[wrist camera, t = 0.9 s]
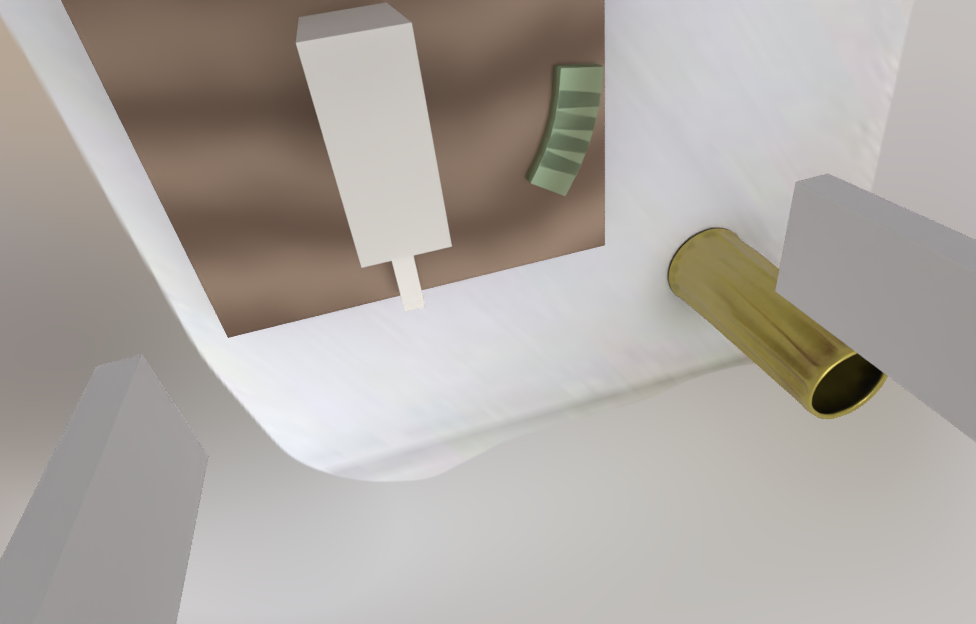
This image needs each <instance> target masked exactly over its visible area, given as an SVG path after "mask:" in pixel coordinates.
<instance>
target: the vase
mask: <svg viewBox="0 0 976 624" xmlns="http://www.w3.org/2000/svg"><path fill="white" fill-rule="evenodd" d="M778 274H779V269H778V268H777V267H776V266H774V265H773V264H772V263H771V262H770V261H769V260H767V259H766V258H765V257H764V256H762V255H761V254H760V253H759V252H757V251H756V250H754V249H753V248H751V247H750V246H749V245H747V244H745V243H744V242H742V241H741V240H740V239H739V237H738V236H737V235H736V234H735V233H733V232H732V231H730V230H726V229H720V228H717V229H710V230H707V231H704V232H701V233H699V234H697V235H696V236H694V237H692V238H691V239H690V240H688V241H687V242H686V243H685V244H684V245H683V246H682V247H681V248H680V250H679V251H678V252H677V254H676V255H675V257H674V259H673V261H672V264H671V267H670V270H669V283H670V287H671V289H672V291H673V293H674V294H675V295H677V296H678V297H680V298H682V299H683V300H684V301H685V302H686V303H688V304H689V305H690V306H691V307H692V308H693V309H694V310H695V311H697V312H698V313H699V314H700V315H701V316H702V317H704V318H705V319H706V320H707V321H708V322H710V323H711V324H712V325H713V326H714V327H715V328H716V329H717V330H718V331H720V332H721V333H722V334H723V335H724V336H725V337H726V338H727V339H729V340H730V341H731V342H732V343H733V344H734V345H735V346H737V347H738V348H739V349H740V350H741V351H742V352H743V353H744V354H746V355H747V356H748V357H749V358H750V359H751V360H752V361H753V362H755V363H756V364H757V365H758V366H759V367H760V368H762V370H764V371H765V372H766V373H767V374H768V375H769V376H770V377H771V378H772V379H774V380H775V381H776V382H777V383H778V384H779V385H780V386H781V387H783V388H784V389H785V390H786V391H787V392H788V393H789V394H791V395H792V396H793V397H794V398H795V399H796V400H797V401H798V402H799V403H800V404H801V405H802V406H803V407H804V408H805V409H806V410H807V411H809V412H810V413H812V414H813V415H815V416H817V417H818V418H821V419H834V418H837V417H841V416H843V415H846V414H848V413H851V412H853V411H855V410H856V409H858V408H859V407H861V406H862V405H863V404H865V403H866V402H867V401H869V400H870V399H871V398H872V397H873V396H874V395H875V394H876V393H877V392H878V390H879V389H880V388H881V387H882V385H883V384H884V382H885V381H886V379H887V377H888V376H887V375H886V374H885V373H883V372H882V371H881V370H879V369H878V368H877V367H875V366H874V365H873V364H871V363H870V362H869V361H867V360H866V359H865V358H863V357H862V356H861V355H859V354H858V353H857V352H855V351H854V350H853V349H851V348H850V347H849V346H847V345H846V344H845V343H843V342H842V341H841V340H839V339H838V338H837V337H835V336H834V335H833V334H831V333H830V332H829V331H827V330H826V329H825V328H823V327H822V326H821V325H819V324H818V323H817V322H815V321H814V320H813V319H811V318H810V317H809V316H808V315H806V314H805V313H804V312H802V311H801V310H800V309H798V308H797V307H796V306H794V305H793V304H792V303H790V302H789V301H788V300H786V299H785V298H784V297H782V296H781V295H780V294H778V293H777V292H776V291H775V290H776V284H777V279H778Z"/></svg>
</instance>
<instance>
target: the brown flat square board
mask: <svg viewBox="0 0 976 624" xmlns="http://www.w3.org/2000/svg"><path fill="white" fill-rule="evenodd" d="M61 1H62V3H63V5H64V7H65V9H66V11H67V13H68V15H69V17H70V19H71V21H72V23H73V25H74V27H75V29H76V31H77V33H78V35H79V37H80V39H81V41H82V43H83V45H84V47H85V50H86V52H87V54H88V56H89V58H90V60H91V62H92V64H93V66H94V68H95V70H96V72H97V74H98V76H99V78H100V80H101V82H102V84H103V86H104V88H105V90H106V92H107V94H108V96H109V98H110V100H111V102H112V104H113V106H114V108H115V110H116V112H117V114H118V116H119V118H120V120H121V122H122V124H123V126H124V128H125V130H126V132H127V134H128V136H129V138H130V140H131V143H132V145H133V147H134V149H135V151H136V153H137V155H138V157H139V159H140V161H141V163H142V165H143V167H144V169H145V171H146V173H147V175H148V177H149V179H150V181H151V183H152V185H153V187H154V189H155V191H156V193H157V195H158V197H159V199H160V201H161V203H162V205H163V207H164V209H165V211H166V213H167V215H168V217H169V219H170V221H171V223H172V225H173V227H174V229H175V231H176V233H177V236H178V238H179V240H180V242H181V244H182V246H183V248H184V250H185V252H186V254H187V256H188V258H189V260H190V262H191V264H192V266H193V268H194V270H195V272H196V274H197V276H198V278H199V280H200V282H201V284H202V286H203V288H204V290H205V292H206V294H207V296H208V298H209V300H210V302H211V304H212V306H213V308H214V310H215V312H216V314H217V316H218V318H219V320H220V322H221V324H222V326H223V329H224V331H225V333H226V335H227V337H228V338H229V337H233V336H237V335H241V334H245V333H249V332H253V331H258V330H262V329H266V328H270V327H274V326H278V325H282V324H286V323H290V322H294V321H298V320H302V319H306V318H310V317H315V316H319V315H323V314H327V313H331V312H335V311H339V310H343V309H347V308H351V307H355V306H359V305H363V304H367V303H372V302H376V301H380V300H384V299H388V298H392V297H396V296H400V291H399V287H398V283H397V280H396V276H395V272H394V268H393V264H392V261H389V262H384V263H380V264H376V265H372V266H367V267H363V268H361V264H360V261H359V257H358V254H357V251H356V247H355V244H354V240H353V237H352V233H351V230H350V227H349V223H348V220H347V216H346V213H345V210H344V206H343V203H342V199H341V196H340V192H339V189H338V186H337V182H336V179H335V175H334V172H333V169H332V165H331V162H330V158H329V155H328V151H327V148H326V145H325V141H324V138H323V134H322V131H321V128H320V124H319V121H318V117H317V114H316V111H315V107H314V104H313V100H312V97H311V93H310V90H309V87H308V83H307V80H306V76H305V73H304V70H303V66H302V63H301V59H300V56H299V52H298V49H297V46H296V36H297V28H298V20H299V17H303V16H309V15H315V14H320V13H326V12H332V11H338V10H344V9H350V8H356V7H362V6H368V5H374V4H380V3H386V2H387V3H388V4H389V5H390V6H392V7H393V8H394V9H395V10H397V11H398V12H399V13H400V14H402V15H403V16H404V17H405V18H407V19H408V20H409V21H410V22H412V27H413V33H414V38H415V44H416V49H417V55H418V60H419V66H420V72H421V77H422V83H423V88H424V94H425V99H426V105H427V111H428V116H429V122H430V127H431V133H432V138H433V144H434V149H435V155H436V161H437V166H438V172H439V177H440V183H441V188H442V194H443V200H444V205H445V211H446V216H447V222H448V227H449V233H450V238H451V244H452V247H448V248H444V249H439V250H435V251H431V252H427V253H423V254H418V255H414V260H415V264H416V269H417V273H418V278H419V282H420V286H421V290H424V289H429V288H433V287H437V286H441V285H445V284H449V283H453V282H457V281H461V280H465V279H469V278H473V277H477V276H481V275H486V274H490V273H494V272H498V271H502V270H506V269H510V268H514V267H518V266H522V265H526V264H530V263H534V262H538V261H543V260H547V259H551V258H555V257H559V256H563V255H567V254H571V253H575V252H579V251H583V250H587V249H591V248H595V247H600V246H604V245H605V50H604V0H61Z"/></svg>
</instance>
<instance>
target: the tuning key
mask: <svg viewBox="0 0 976 624" xmlns="http://www.w3.org/2000/svg"><path fill="white" fill-rule="evenodd" d="M296 46H297V49H298V52H299V56H300V59H301V63H302V66H303V70H304V73H305V76H306V80H307V83H308V87H309V90H310V93H311V97H312V100H313V104H314V107H315V111H316V114H317V117H318V121H319V124H320V128H321V131H322V134H323V138H324V141H325V145H326V148H327V151H328V155H329V158H330V162H331V165H332V169H333V172H334V175H335V179H336V182H337V186H338V189H339V192H340V196H341V199H342V203H343V206H344V210H345V213H346V216H347V220H348V223H349V227H350V230H351V233H352V237H353V240H354V244H355V247H356V251H357V254H358V257H359V261H360V264H361V268H363V267H367V266H372V265H376V264H380V263H384V262H389V261H392V264H393V268H394V272H395V276H396V280H397V283H398V287H399V291H400V295H401V299H402V303H403V307H404V311H405V312H408V311H412V310H416V309H420V308H424V307H425V304H424V300H423V295H422V291H421V286H420V282H419V278H418V273H417V269H416V264H415V260H414V255H418V254H423V253H427V252H431V251H435V250H439V249H444V248H448V247H452V244H451V238H450V233H449V227H448V222H447V216H446V211H445V205H444V200H443V194H442V188H441V183H440V177H439V172H438V166H437V161H436V155H435V149H434V144H433V138H432V133H431V127H430V122H429V116H428V111H427V105H426V99H425V94H424V88H423V83H422V77H421V72H420V66H419V60H418V55H417V49H416V44H415V38H414V33H413V27H412V22H410V21H409V20H408V19H407V18H405V17H404V16H403V15H402V14H400V13H399V12H398V11H397V10H395V9H394V8H393V7H392V6H390V5H389V4H388V3H387V2H386V3H380V4H374V5H368V6H362V7H356V8H350V9H344V10H338V11H332V12H326V13H320V14H315V15H309V16H303V17H299V20H298V28H297V36H296Z"/></svg>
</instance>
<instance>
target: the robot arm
mask: <svg viewBox="0 0 976 624" xmlns="http://www.w3.org/2000/svg"><path fill="white" fill-rule="evenodd" d="M775 291H776V292H777V293H778V294H780V295H781V296H782V297H784V298H785V299H786V300H788V301H789V302H790V303H792V304H793V305H794V306H796V307H797V308H798V309H800V310H801V311H802V312H804V313H805V314H806V315H808V316H809V317H810V318H811V319H813V320H814V321H815V322H817V323H818V324H819V325H821V326H822V327H823V328H825V329H826V330H827V331H829V332H830V333H831V334H833V335H834V336H835V337H837V338H838V339H839V340H841V341H842V342H843V343H845V344H846V345H847V346H849V347H850V348H851V349H853V350H854V351H855V352H857V353H858V354H859V355H861V356H862V357H863V358H865V359H866V360H867V361H869V362H870V363H871V364H873V365H874V366H875V367H877V368H878V369H879V370H881V371H882V372H883V373H885V374H886V375H887V376H889V377H890V378H891V379H893V380H894V381H895V382H897V383H898V384H899V385H901V386H902V387H903V388H905V389H906V390H907V391H909V392H910V393H911V394H913V395H914V396H915V397H917V398H918V399H919V400H921V401H922V402H923V403H925V404H926V405H927V406H929V407H930V408H931V409H933V410H934V411H935V412H937V413H938V414H939V415H940V416H942V417H943V418H944V419H946V420H947V421H948V422H950V423H951V424H952V425H954V426H955V427H957V428H958V429H959V430H960V431H962V432H963V433H964V434H966V435H967V436H969V437H970V438H971V439H973V440H974V441H975V442H976V240H975V239H972V238H970V237H968V236H966V235H964V234H962V233H959V232H957V231H955V230H953V229H950V228H948V227H946V226H944V225H941V224H939V223H937V222H935V221H933V220H930V219H928V218H926V217H924V216H921V215H919V214H917V213H915V212H913V211H910V210H908V209H906V208H903V207H901V206H899V205H897V204H895V203H893V202H890V201H888V200H886V199H884V198H881V197H879V196H877V195H875V194H873V193H870V192H868V191H866V190H864V189H861V188H859V187H857V186H855V185H852V184H850V183H848V182H846V181H844V180H841V179H839V178H837V177H835V176H832V175H830V174H824V175H820V176H816V177H813V178H809V179H805V180H801V181H797V182H796V183H795V188H794V194H793V199H792V204H791V210H790V215H789V220H788V226H787V231H786V236H785V242H784V247H783V252H782V258H781V263H780V268H779V274H778V279H777V284H776V290H775ZM207 461H208V454H207V453H206V451H205V450H204V448H203V447H202V445H201V444H200V442H199V441H198V439H197V438H196V436H195V435H194V433H193V432H192V430H191V429H190V427H189V425H188V424H187V422H186V421H185V419H184V418H183V416H182V415H181V413H180V412H179V410H178V409H177V407H176V406H175V404H174V403H173V401H172V399H171V398H170V396H169V395H168V393H167V392H166V390H165V389H164V387H163V386H162V384H161V383H160V381H159V380H158V378H157V377H156V375H155V374H154V372H153V370H152V369H151V367H150V366H149V364H148V363H147V361H146V360H145V358H144V357H143V355H142V354H141V355H137V356H133V357H129V358H125V359H122V360H118V361H115V362H110V363H106V364H103V365H99V366H96V368H95V370H94V372H93V374H92V376H91V378H90V380H89V382H88V384H87V386H86V389H85V390H84V393H83V394H82V396H81V398H80V400H79V403H78V404H77V406H76V408H75V411H74V413H73V415H72V416H71V419H70V421H69V423H68V425H67V427H66V429H65V431H64V433H63V435H62V437H61V439H60V441H59V443H58V445H57V447H56V449H55V451H54V453H53V455H52V457H51V459H50V461H49V463H48V465H47V467H46V469H45V471H44V473H43V475H42V477H41V479H40V481H39V483H38V485H37V487H36V489H35V491H34V493H33V495H32V497H31V499H30V501H29V503H28V505H27V507H26V509H25V511H24V513H23V515H22V517H21V519H20V521H19V523H18V525H17V527H16V529H15V531H14V533H13V535H12V537H11V539H10V541H9V543H8V545H7V547H6V550H5V551H4V554H3V555H2V557H1V559H0V624H176V621H177V616H178V612H179V607H180V601H181V596H182V591H183V585H184V581H185V575H186V570H187V565H188V560H189V555H190V550H191V544H192V539H193V534H194V529H195V524H196V518H197V513H198V508H199V503H200V498H201V493H202V487H203V482H204V477H205V471H206V466H207Z"/></svg>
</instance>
